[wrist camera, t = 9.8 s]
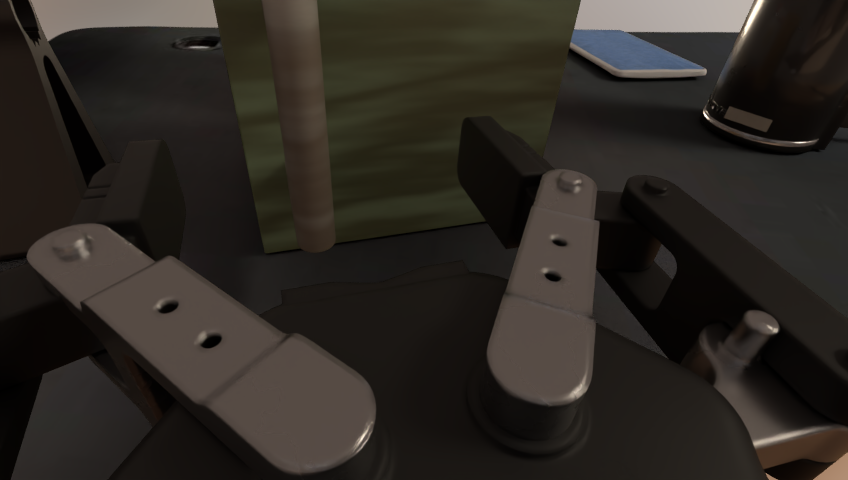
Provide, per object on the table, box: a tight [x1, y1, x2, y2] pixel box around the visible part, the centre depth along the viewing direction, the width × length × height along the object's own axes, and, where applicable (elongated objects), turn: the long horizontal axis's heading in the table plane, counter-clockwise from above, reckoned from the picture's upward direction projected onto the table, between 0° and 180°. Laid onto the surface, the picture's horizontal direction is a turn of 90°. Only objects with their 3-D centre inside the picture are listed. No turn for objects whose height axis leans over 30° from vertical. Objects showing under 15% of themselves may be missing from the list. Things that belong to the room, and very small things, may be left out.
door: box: [213, 0, 581, 253], centre depth 19 cm, size 6×16×18 cm, turn 108°
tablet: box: [569, 30, 707, 78], centre depth 60 cm, size 19×13×1 cm, turn 13°
